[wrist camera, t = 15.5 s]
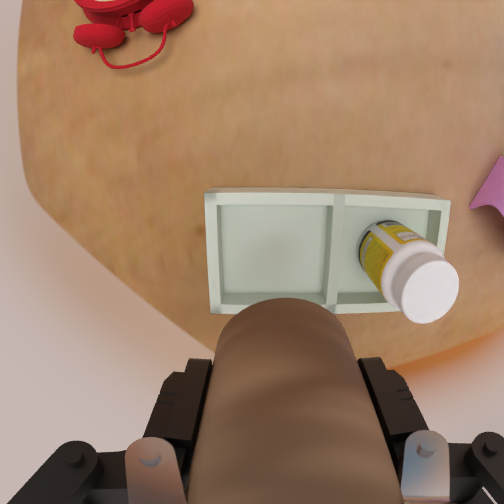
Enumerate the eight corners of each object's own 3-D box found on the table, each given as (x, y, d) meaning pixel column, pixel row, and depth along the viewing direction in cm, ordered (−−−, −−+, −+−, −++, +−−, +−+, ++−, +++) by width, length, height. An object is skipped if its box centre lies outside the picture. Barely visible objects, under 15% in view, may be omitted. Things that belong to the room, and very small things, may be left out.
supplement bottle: (373, 286, 25) (411, 344, 17) (344, 241, 24) (380, 288, 16) (419, 253, 24) (472, 298, 16) (394, 206, 23) (449, 237, 15)
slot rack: (433, 194, 23) (450, 200, 20) (419, 294, 26) (432, 309, 23) (210, 187, 24) (204, 193, 21) (215, 297, 27) (210, 313, 24)
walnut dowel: (357, 296, 11) (454, 499, 3) (338, 399, 12) (374, 570, 5) (212, 296, 11) (145, 518, 3) (220, 400, 13) (193, 576, 5)
